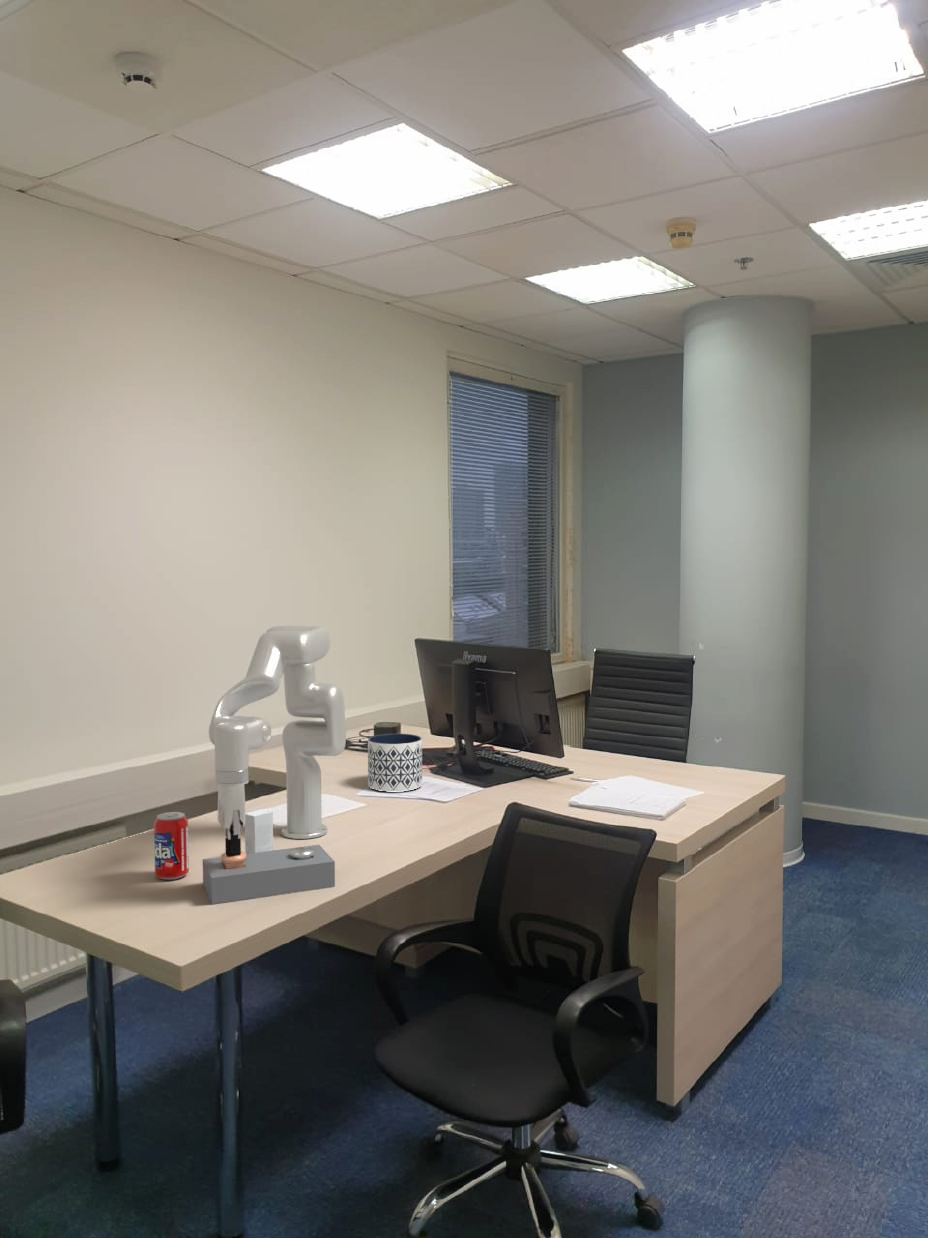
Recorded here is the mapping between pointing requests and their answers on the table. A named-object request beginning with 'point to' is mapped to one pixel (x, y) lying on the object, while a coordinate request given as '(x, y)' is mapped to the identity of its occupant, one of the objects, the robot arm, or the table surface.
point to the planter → (394, 762)
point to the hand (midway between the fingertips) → (233, 855)
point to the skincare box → (258, 831)
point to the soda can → (171, 846)
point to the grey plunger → (301, 853)
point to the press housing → (267, 875)
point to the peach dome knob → (233, 860)
